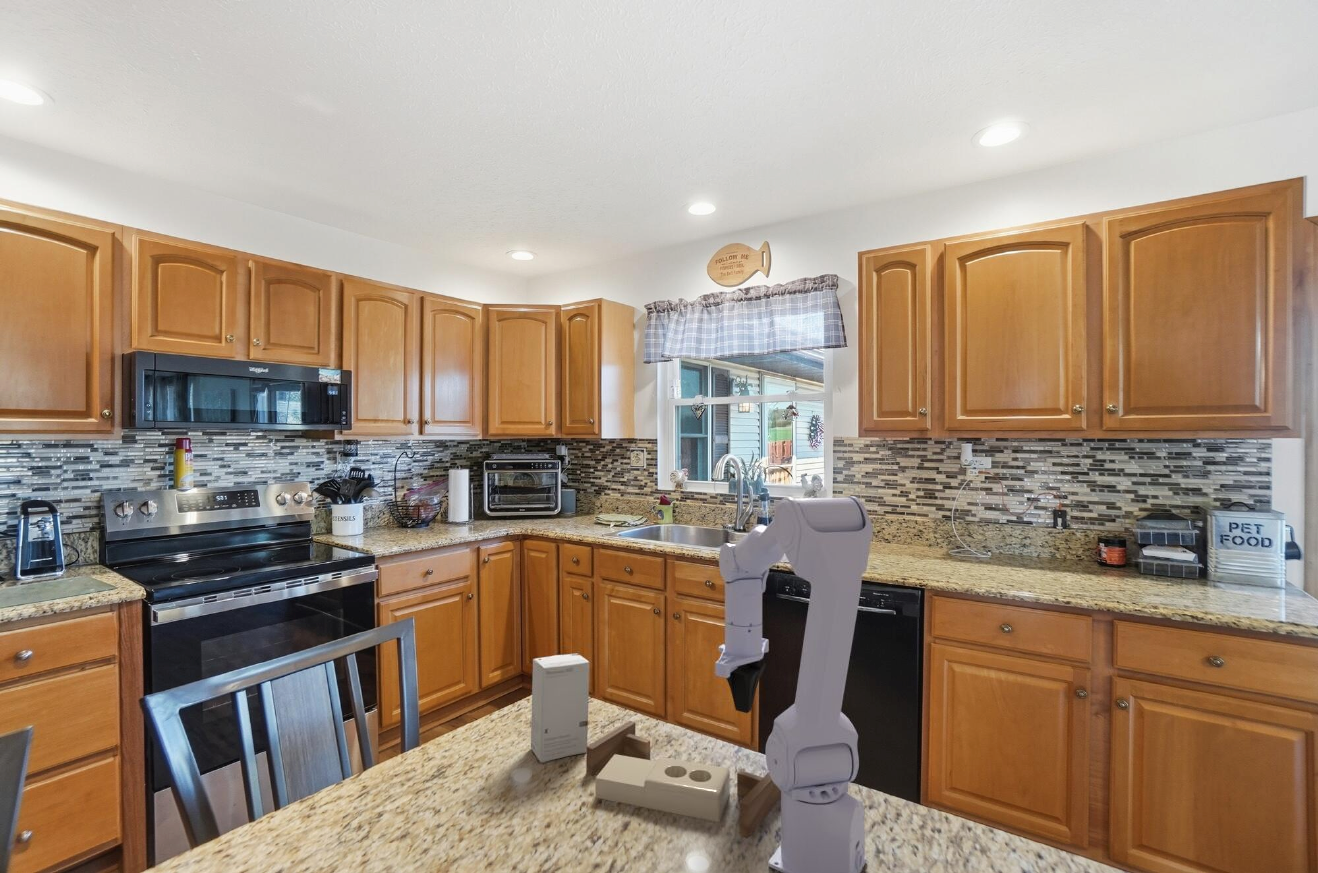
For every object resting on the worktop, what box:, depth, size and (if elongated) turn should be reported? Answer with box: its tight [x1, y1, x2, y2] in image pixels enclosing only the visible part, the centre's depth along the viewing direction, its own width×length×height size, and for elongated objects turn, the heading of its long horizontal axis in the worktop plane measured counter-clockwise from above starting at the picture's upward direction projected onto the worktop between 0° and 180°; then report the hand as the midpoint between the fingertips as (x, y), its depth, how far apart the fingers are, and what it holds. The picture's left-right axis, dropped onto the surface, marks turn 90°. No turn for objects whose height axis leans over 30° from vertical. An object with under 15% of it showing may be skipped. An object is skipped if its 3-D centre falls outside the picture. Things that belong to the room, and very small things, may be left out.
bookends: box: [585, 720, 781, 838], centre depth 91 cm, size 27×11×4 cm, turn 56°
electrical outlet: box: [595, 754, 731, 823], centre depth 88 cm, size 7×4×18 cm
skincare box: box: [530, 653, 590, 764], centre depth 101 cm, size 8×6×15 cm
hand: (743, 710), depth 95 cm, fingers closed
